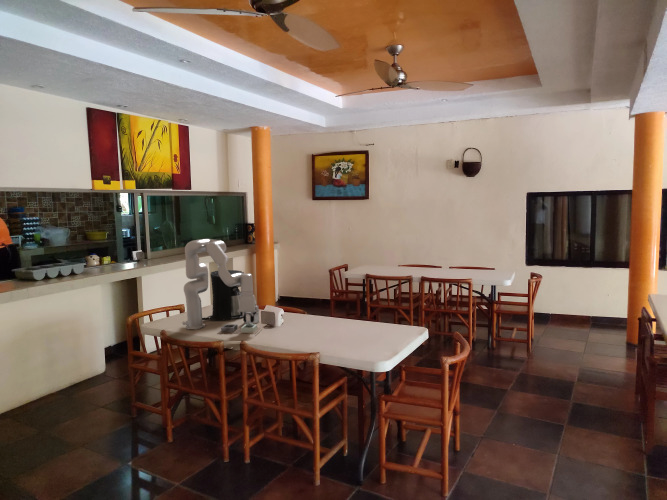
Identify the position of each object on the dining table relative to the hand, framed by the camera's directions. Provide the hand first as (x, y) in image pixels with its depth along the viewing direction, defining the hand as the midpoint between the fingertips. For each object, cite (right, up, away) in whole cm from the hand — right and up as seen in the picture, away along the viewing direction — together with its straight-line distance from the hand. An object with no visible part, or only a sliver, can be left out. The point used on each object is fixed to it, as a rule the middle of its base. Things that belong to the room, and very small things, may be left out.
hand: (248, 321), depth 296 cm
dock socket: (0, -6, +1) cm, 6 cm away
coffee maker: (-27, -4, +45) cm, 53 cm away
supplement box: (-2, -5, +21) cm, 22 cm away
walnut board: (-6, -8, +2) cm, 10 cm away
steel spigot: (0, -4, 0) cm, 4 cm away
